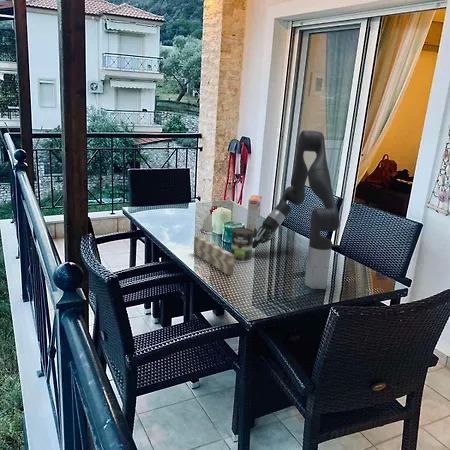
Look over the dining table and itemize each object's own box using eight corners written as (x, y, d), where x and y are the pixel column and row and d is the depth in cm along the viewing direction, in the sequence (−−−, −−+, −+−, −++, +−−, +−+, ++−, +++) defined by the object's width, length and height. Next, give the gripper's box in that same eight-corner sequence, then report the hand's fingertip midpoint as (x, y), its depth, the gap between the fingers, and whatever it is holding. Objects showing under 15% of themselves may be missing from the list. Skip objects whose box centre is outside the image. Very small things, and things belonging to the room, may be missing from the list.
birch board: (233, 274, 198) (234, 255, 196) (228, 275, 197) (229, 255, 194) (198, 253, 222) (198, 235, 219) (193, 253, 220) (194, 236, 218)
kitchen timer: (196, 230, 258) (198, 205, 254) (214, 226, 268) (215, 202, 264) (213, 236, 249) (215, 210, 245) (231, 232, 259) (232, 207, 254)
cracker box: (255, 237, 253) (258, 200, 247) (245, 235, 254) (248, 199, 248) (259, 230, 266) (262, 195, 260) (249, 229, 267) (251, 194, 262)
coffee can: (249, 263, 212) (251, 235, 208) (228, 260, 214) (229, 232, 211) (253, 256, 222) (255, 229, 218) (232, 253, 224) (234, 226, 220)
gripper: (261, 212, 227) (240, 238, 223) (278, 219, 216) (256, 246, 213) (269, 221, 231) (248, 247, 228) (286, 228, 221) (264, 256, 217)
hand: (252, 247), depth 220 cm, fingers closed
